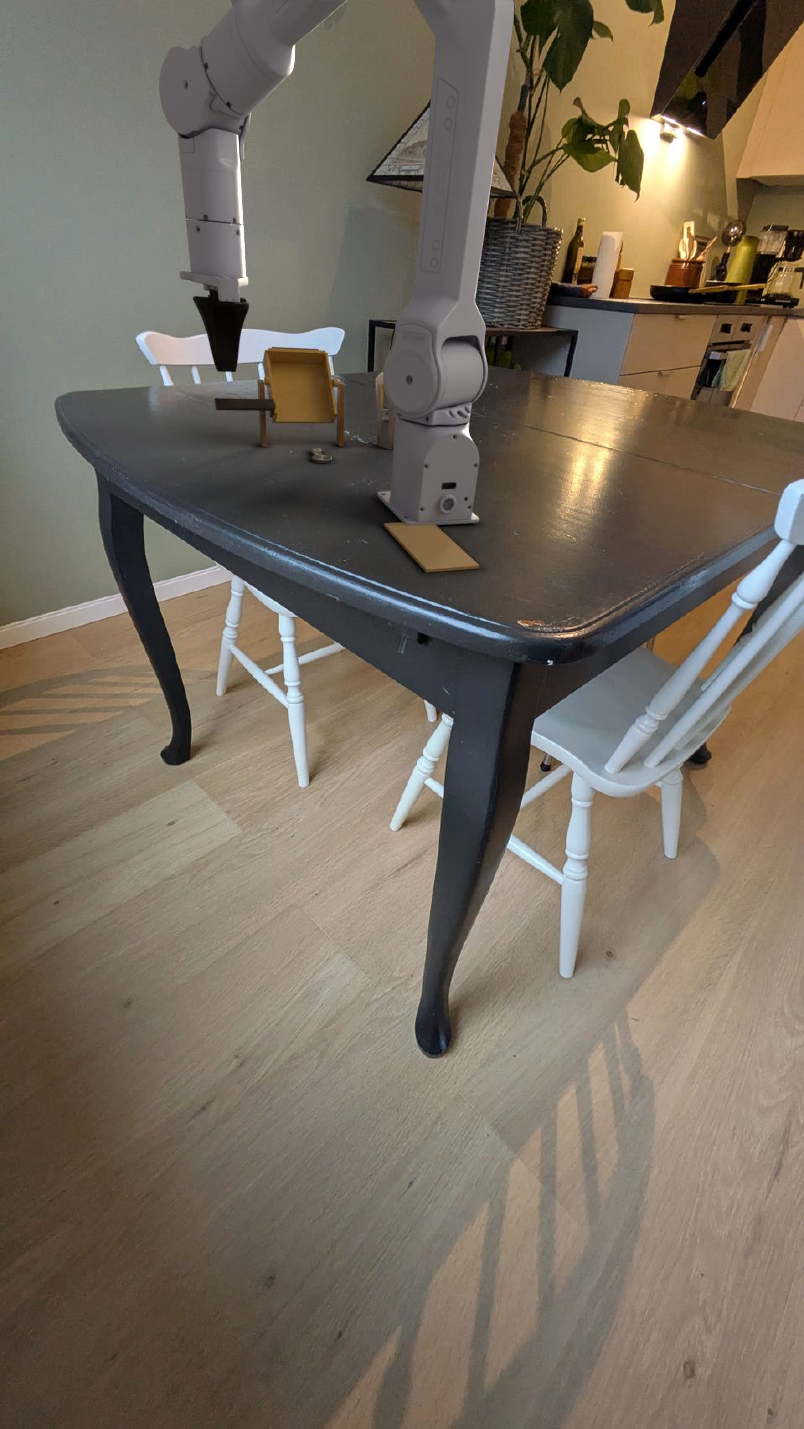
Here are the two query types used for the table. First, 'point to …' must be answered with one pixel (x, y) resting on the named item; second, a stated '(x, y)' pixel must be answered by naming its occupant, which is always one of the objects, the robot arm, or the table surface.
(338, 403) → the stand
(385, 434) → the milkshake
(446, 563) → the mat
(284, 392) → the tray
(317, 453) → the key
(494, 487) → the table surface
